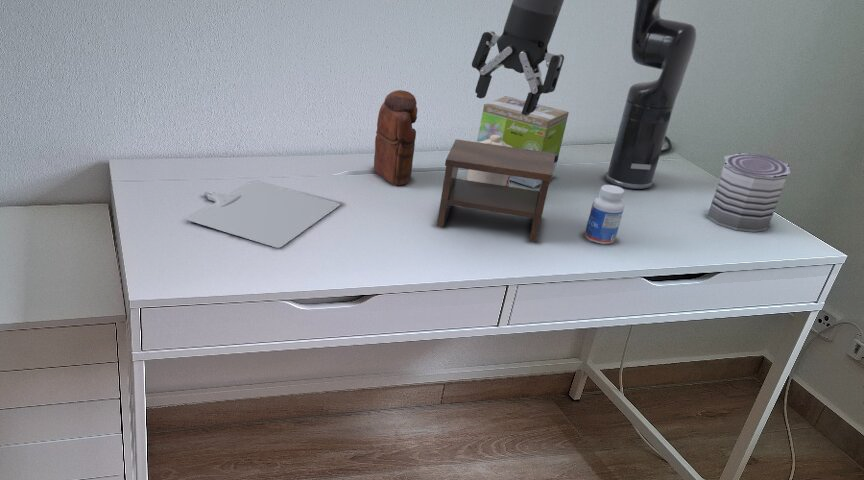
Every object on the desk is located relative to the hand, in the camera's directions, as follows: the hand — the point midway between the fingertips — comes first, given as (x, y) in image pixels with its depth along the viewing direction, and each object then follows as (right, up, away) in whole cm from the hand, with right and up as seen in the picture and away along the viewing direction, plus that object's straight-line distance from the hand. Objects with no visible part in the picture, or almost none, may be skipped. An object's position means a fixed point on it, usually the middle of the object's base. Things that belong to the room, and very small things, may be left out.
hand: (502, 105), depth 145 cm
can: (+53, -16, +25) cm, 61 cm away
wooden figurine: (-13, -5, +38) cm, 41 cm away
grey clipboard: (-41, -15, +19) cm, 48 cm away
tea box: (+14, -4, +43) cm, 45 cm away
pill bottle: (+22, -21, +14) cm, 33 cm away
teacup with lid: (+5, -8, +34) cm, 36 cm away
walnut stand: (+3, -17, +19) cm, 25 cm away
